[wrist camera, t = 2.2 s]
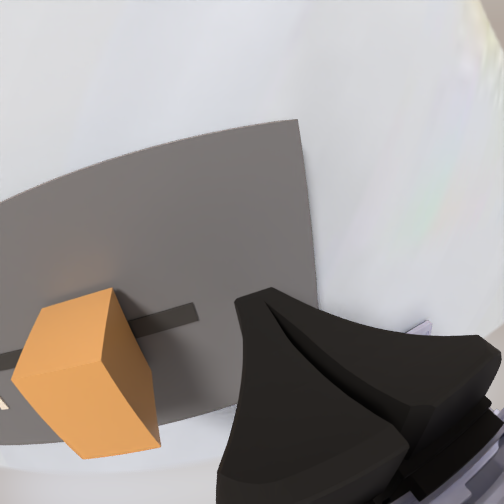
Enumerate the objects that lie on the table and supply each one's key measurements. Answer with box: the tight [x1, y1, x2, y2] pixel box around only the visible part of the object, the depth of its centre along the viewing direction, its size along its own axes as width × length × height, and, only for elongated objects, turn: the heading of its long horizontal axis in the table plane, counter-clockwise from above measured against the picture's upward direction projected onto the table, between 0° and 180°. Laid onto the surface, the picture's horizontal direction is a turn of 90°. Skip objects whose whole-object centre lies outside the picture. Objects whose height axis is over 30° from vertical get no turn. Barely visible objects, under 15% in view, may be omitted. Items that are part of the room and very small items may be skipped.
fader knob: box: [11, 287, 161, 459], centre depth 8 cm, size 4×3×4 cm
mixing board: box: [0, 119, 318, 445], centre depth 10 cm, size 12×24×2 cm, turn 100°
